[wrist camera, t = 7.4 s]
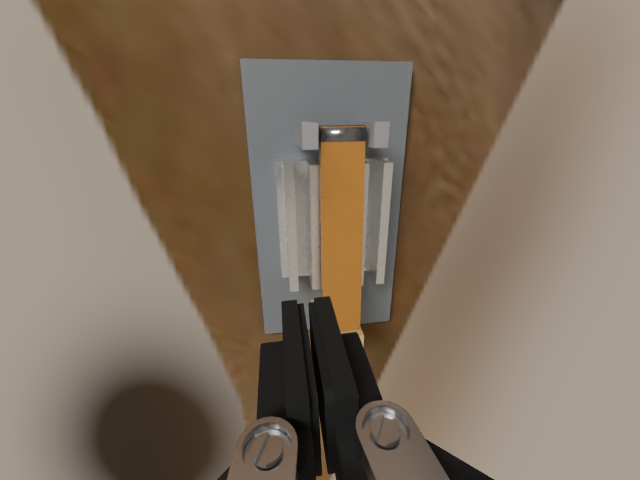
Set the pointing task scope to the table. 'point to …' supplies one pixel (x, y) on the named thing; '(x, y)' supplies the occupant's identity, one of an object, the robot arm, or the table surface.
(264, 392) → the robot arm
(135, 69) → the table surface
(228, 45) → the table surface
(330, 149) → the strap
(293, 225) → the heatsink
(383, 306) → the cpu board
